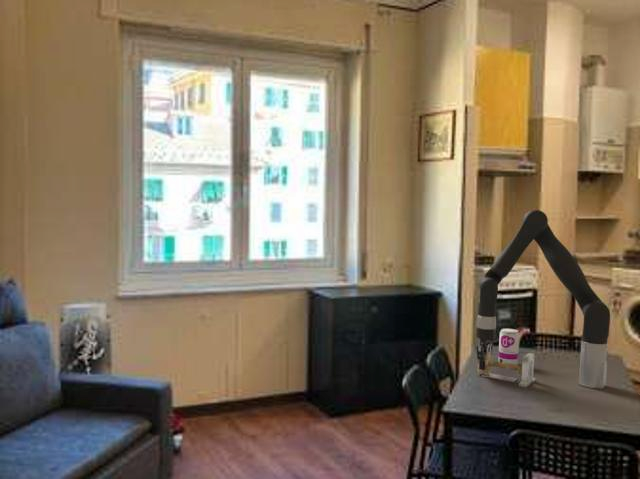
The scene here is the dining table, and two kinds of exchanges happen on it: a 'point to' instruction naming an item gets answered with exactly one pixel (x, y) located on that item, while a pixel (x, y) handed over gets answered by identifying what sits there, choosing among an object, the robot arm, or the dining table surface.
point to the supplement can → (509, 346)
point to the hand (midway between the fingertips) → (483, 368)
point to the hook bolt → (497, 365)
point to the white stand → (526, 372)
